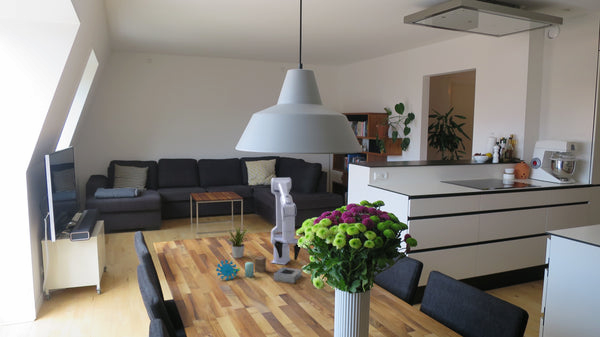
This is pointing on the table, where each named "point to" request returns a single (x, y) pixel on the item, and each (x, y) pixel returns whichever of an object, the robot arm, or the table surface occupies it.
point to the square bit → (260, 264)
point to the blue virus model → (227, 270)
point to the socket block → (287, 275)
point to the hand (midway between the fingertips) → (288, 258)
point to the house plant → (238, 243)
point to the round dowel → (249, 269)
